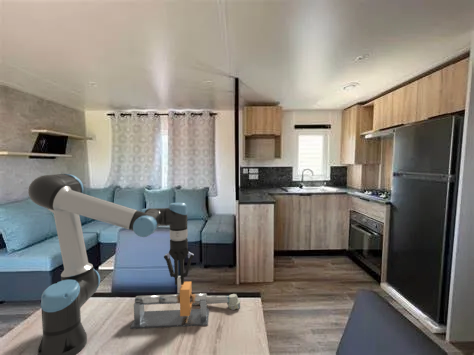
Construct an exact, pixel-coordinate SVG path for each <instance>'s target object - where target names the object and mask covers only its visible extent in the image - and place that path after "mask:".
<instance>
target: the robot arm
mask: <svg viewBox="0 0 474 355" xmlns="http://www.w3.org/2000/svg"><path fill="white" fill-rule="evenodd" d="M27 189H28V197H29V198H30V200H31V201H32V202H33V203H35V205H37V206H38V207H39V206H40V207H42V208H45V209H47V211H49V212H51V213H53V217H54V221H55V229H56V233H57V238H58V239H57V240H58V242H59V243H58V245H59V249H60V254H61V260H62V264H63V271H62V272H61V274H60V279H61V280H60V281H57V283H53V284H51V285H49V286H47V287H46V289H44V291H42V294H41V297H40V298H41V299H40V300H41V301H40V308H41V323H42V324H41V325H42V336H41V339H40V341H39V345H38V347H37V355H77V354H78V353H79V352H81V351H82V350H83V349H84V348H85V347H86V345H87V342H88V335H87V332H86V331H85V327H84V326H83V324H82V318H81V316H82V315H81V308H82V307H83V306H84V305H85V304H86V302H87V301H88V300H89V299H90V298H91V297H93V296H94V294H95V293H96V292H97V290H98V288H99V287H100V284H101V275H100V273H99V272H98V271H97V270H96V269H95V268H94V266H93V264H92V263H90V262H89V258H88V254H87V248H86V243H85V238H84V233H83V228H82V222H81V217H80V216H82V217H85V218H89V219H92V220H96V221H100V222H102V223H107V224H110V225H112V226H115V227H116V226H117V227H119V228H123V229H127V230H129V231H131V232H132V231H133V232H134V234H136V236H138V237H140V238H147V237H150V236H151V235H152V234H154V233H155V232H156V230H157V228H158V227H163V226H164V227H166V226H167V227H168V226H169V251H168V253H165V254H164V255H163V258H164V260H165V261H166V262H165V263H166V264H167V269H168V272H169V275H170V277H171V278H174V285H175V286H177V289H176V290H177V294H180V288H181V285H183V284H184V282H185V278H186V277H187V276H188V275H189V272H190V271H189V270H190V268H191V267H190V266H191V264H192V263H191V262H192V259H193V258H194V255H195V254H194V253H193V252H190V250H189V247H188V246H189V241H188V240H189V238H188V235H189V234H188V232H189V231H188V205H187V204H186V203H185V202H172V203H169V205H168V207H165V208H164V207H163V208H157V207H156V208H154V207H153V208H151V207H149V208H142V209H140V210H138V209H134V208H130V207H127V206H124V205H121V204H117V203H114V202H112V201H108V200H105V199H102V198H99V197H96V196H92V195H88V194H86V193H84V184H83V182H82V180H81V179H80V177H78V176H76V175H74V174H71V173H70V174H69V173H59V174H45V175H40V176H38V177H36V178H35V179H34V180H32V181H31V183H30V184H29V186H28V188H27ZM171 258H172V260H173V263H172V260H171ZM186 258H188V259H187V264H186V267H185V259H186ZM179 263H180V265H179ZM173 264H174V265H173ZM179 266H180V270H179ZM185 268H186V269H185ZM179 271H180V273H179ZM179 274H180V275H179Z"/></svg>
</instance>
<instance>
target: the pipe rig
mask: <svg viewBox="0 0 474 355" xmlns="http://www.w3.org/2000/svg"><path fill="white" fill-rule="evenodd" d="M207 296H208V294H207V293H205V292H203V293H192V294H191V295H190V303H200V305H199V306H200V308H194V309H193V308H191V312H190V316H180V309H168V310H167V309H165V310H148V311H147V310H145V306H149V305H152V306H153V305H169V304H170V305H171V304H172V305H174V304H175V305H176V304H180V293H176V294H156V295H155V294H153V295H136V296H135V299H134V303H133V321H132V323H131V325H130V328H129V329H131V330H132V329H133V330H134V329H154V328H155V329H156V328H176V327H180V328H181V327H198V326H199V327H200V326H209V315H210V308H208V304H207Z"/></svg>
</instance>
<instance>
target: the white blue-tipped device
mask: <svg viewBox="0 0 474 355" xmlns="http://www.w3.org/2000/svg"><path fill="white" fill-rule="evenodd" d="M211 304H213V305H214V304H226V305H227V306H228V309H230V310H231V311H233V310H234V311H235V310H236V309H237V310H239V309H240V308H241V300H240V299H239V298H238V295H237V293H232V294H229V295H207V305H211ZM192 306H200V303H192Z"/></svg>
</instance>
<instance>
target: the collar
mask: <svg viewBox="0 0 474 355" xmlns="http://www.w3.org/2000/svg"><path fill="white" fill-rule="evenodd" d="M192 282H193V281H184V284H183V285H181V288H180V293H179V294H180V303H179V310H180V316H190V312H191V309H193V308H192V307H193V305H192V303H190V295H191V294H193V293H192V292H193V291H192V290H193V289H192V286H193V285H192Z"/></svg>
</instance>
